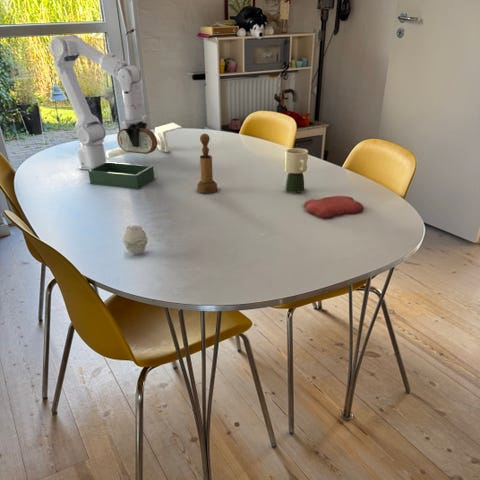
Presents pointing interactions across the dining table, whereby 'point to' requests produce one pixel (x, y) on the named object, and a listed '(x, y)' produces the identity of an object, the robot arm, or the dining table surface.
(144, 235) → the off-white lumpy ball
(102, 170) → the tote
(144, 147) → the tin
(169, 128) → the paper towel holder
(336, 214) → the patty
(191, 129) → the dining table surface
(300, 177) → the character mug
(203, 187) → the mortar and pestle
